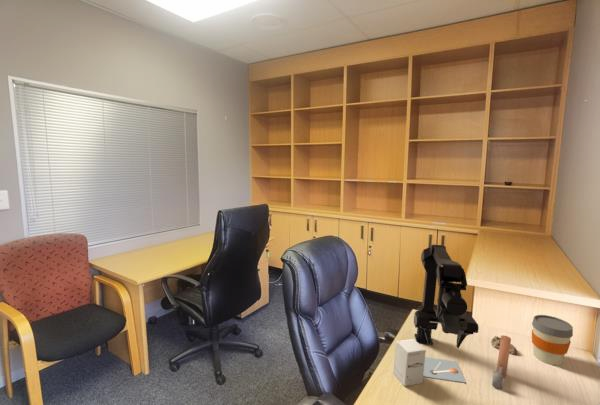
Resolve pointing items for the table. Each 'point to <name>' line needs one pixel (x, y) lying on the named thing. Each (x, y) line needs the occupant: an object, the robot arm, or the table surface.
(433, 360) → the card
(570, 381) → the table surface
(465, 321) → the robot arm
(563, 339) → the reusable coffee cup
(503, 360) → the orange grey t-shaped piece
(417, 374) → the supplement box
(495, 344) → the mineral rock
